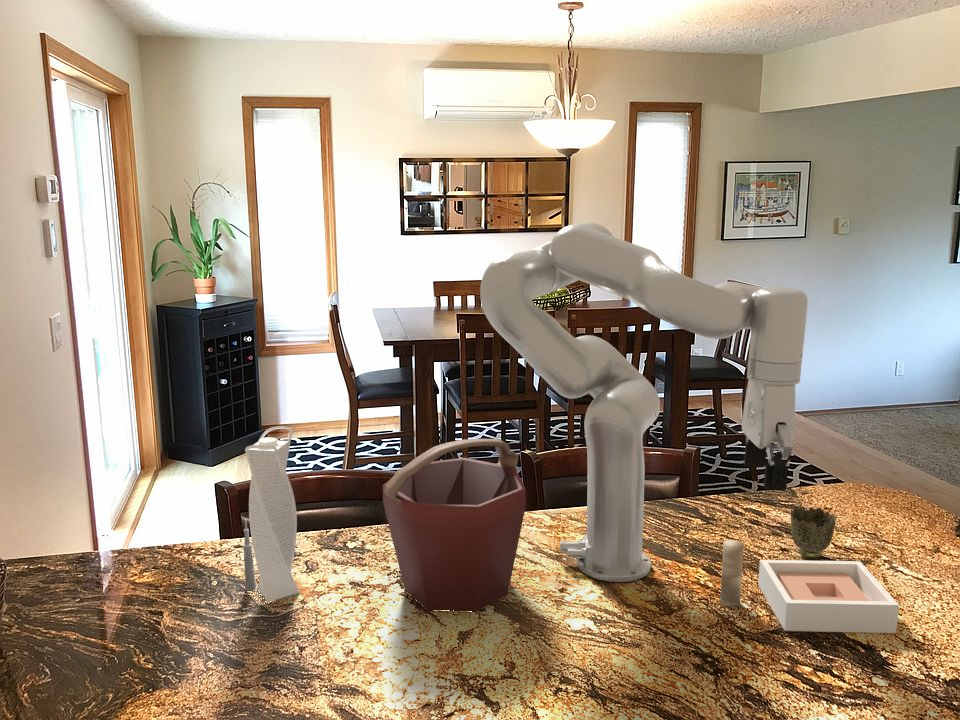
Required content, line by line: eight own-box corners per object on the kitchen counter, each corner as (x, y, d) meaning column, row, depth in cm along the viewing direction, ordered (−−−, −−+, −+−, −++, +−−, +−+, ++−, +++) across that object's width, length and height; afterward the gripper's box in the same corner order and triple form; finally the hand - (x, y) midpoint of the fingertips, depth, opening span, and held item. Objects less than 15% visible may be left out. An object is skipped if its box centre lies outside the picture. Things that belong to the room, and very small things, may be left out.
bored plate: (799, 619, 120) (800, 607, 120) (776, 584, 131) (777, 572, 131) (874, 621, 120) (876, 608, 119) (846, 585, 130) (847, 573, 130)
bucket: (504, 549, 147) (503, 417, 142) (556, 607, 127) (558, 455, 122) (372, 572, 139) (366, 433, 134) (405, 637, 119) (399, 476, 113)
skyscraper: (292, 576, 138) (281, 419, 132) (311, 595, 132) (301, 431, 126) (243, 590, 134) (230, 428, 128) (261, 611, 127) (248, 441, 121)
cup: (825, 548, 146) (828, 506, 144) (838, 566, 139) (842, 523, 137) (782, 546, 147) (785, 505, 145) (793, 565, 140) (797, 521, 138)
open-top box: (784, 630, 119) (786, 602, 118) (758, 585, 133) (759, 559, 132) (896, 633, 118) (899, 605, 117) (857, 586, 132) (860, 561, 131)
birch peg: (722, 607, 126) (726, 548, 124) (718, 597, 129) (721, 539, 127) (742, 607, 126) (745, 548, 124) (737, 598, 129) (740, 540, 127)
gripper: (732, 357, 130) (724, 458, 134) (767, 384, 113) (757, 499, 117) (779, 358, 130) (770, 459, 134) (821, 385, 113) (809, 499, 117)
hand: (764, 477), depth 125 cm, fingers open, 9 cm apart
